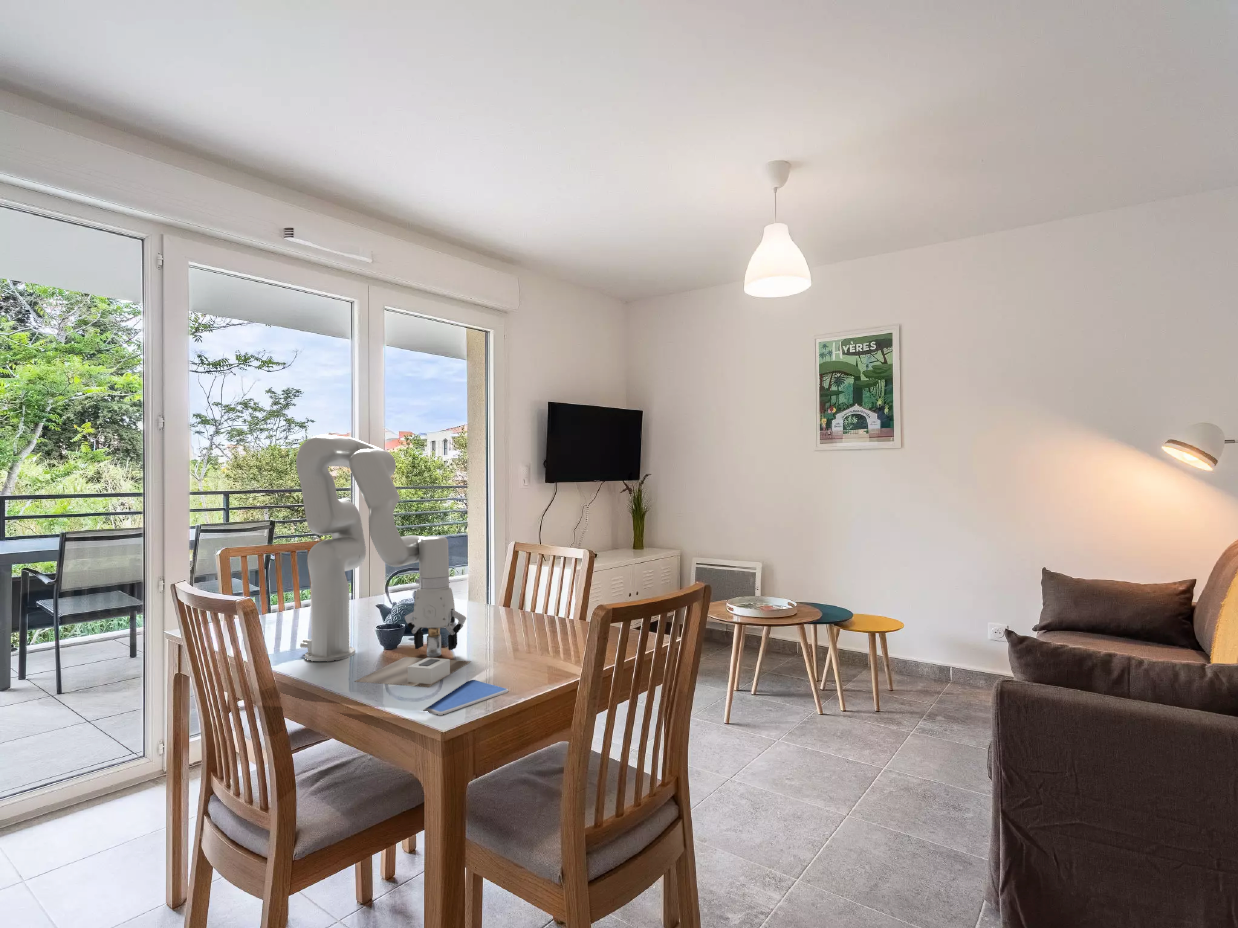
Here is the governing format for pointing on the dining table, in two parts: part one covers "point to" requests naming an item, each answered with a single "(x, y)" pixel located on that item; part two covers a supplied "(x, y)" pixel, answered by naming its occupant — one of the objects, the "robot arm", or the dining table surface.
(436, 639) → the glass spice jar
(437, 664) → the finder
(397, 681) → the beige flat panel
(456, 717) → the dining table surface
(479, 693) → the tablet computer
